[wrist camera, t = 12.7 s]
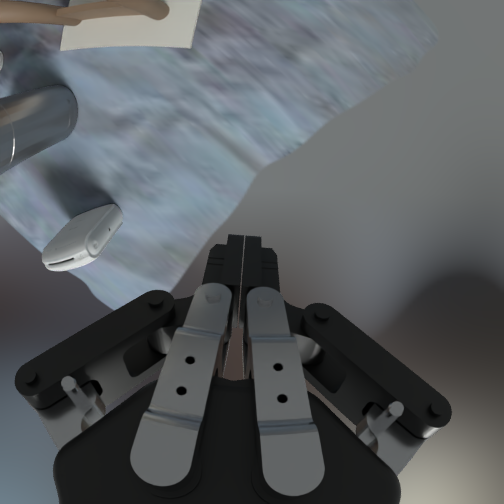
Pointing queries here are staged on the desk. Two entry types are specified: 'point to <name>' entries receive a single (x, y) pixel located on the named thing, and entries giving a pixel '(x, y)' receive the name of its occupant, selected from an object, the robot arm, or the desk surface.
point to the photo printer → (82, 238)
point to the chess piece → (1, 60)
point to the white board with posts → (112, 21)
